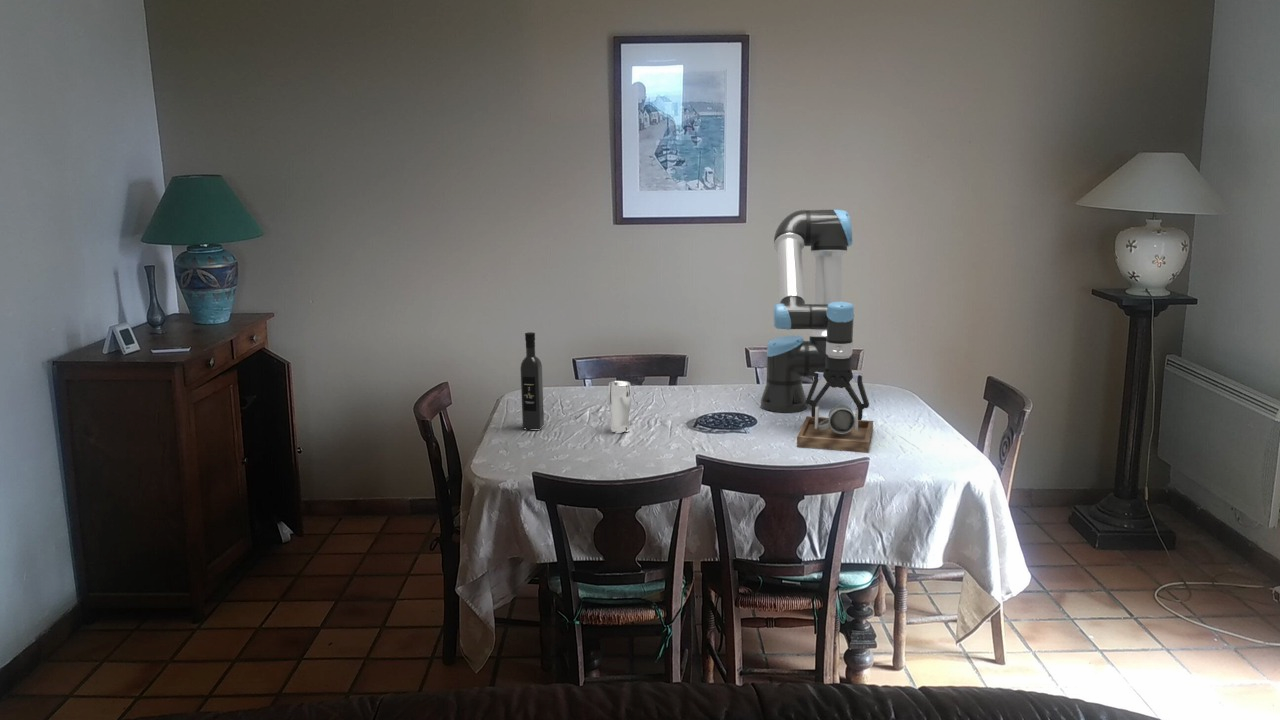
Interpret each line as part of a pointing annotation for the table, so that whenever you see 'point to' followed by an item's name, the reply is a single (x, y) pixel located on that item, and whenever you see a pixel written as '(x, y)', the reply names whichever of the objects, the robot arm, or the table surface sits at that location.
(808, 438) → the walnut tray
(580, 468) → the table surface
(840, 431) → the ceramic mug
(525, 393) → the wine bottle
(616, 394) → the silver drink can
